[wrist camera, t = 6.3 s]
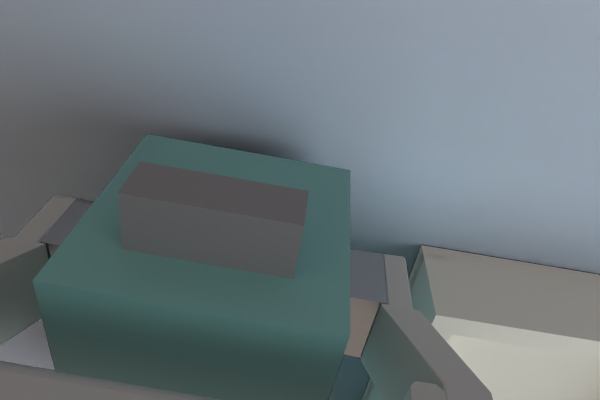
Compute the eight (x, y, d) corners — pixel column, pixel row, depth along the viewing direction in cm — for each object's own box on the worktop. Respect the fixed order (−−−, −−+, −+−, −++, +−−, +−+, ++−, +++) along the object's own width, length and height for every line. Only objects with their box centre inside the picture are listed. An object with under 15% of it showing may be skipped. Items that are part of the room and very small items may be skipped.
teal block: (145, 87, 11) (16, 220, 7) (361, 126, 11) (368, 281, 7) (158, 406, 18) (103, 560, 14) (284, 428, 18) (266, 586, 14)
